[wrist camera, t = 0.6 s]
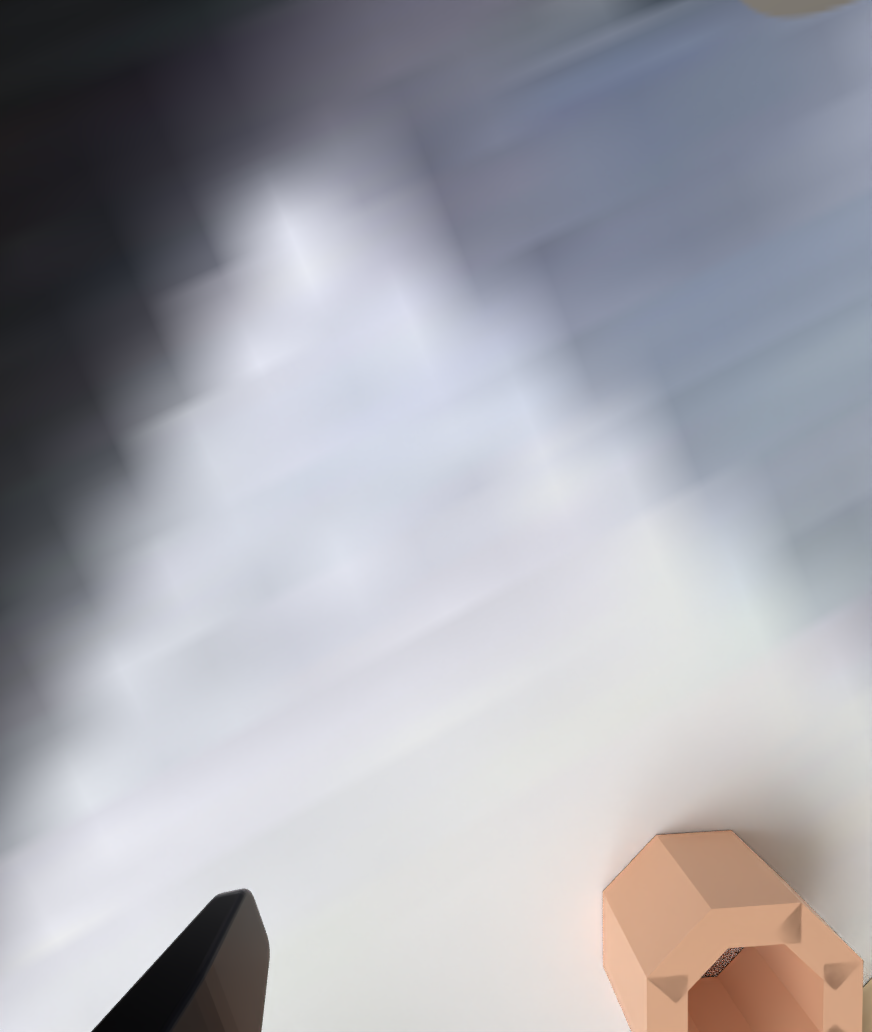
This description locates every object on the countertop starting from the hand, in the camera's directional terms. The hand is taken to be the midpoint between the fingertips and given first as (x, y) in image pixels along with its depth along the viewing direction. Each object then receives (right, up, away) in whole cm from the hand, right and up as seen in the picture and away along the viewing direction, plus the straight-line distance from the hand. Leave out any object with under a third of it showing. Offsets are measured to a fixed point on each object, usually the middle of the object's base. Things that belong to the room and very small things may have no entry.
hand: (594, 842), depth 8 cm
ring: (+8, -11, +15) cm, 20 cm away
